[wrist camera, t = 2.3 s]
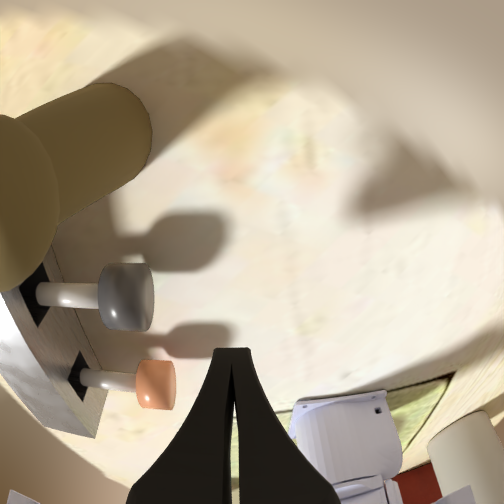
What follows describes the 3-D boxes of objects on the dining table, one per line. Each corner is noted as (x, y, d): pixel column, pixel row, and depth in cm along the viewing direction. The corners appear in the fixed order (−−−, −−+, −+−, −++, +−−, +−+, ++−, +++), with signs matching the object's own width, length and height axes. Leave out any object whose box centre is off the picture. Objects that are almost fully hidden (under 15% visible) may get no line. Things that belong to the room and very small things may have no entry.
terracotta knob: (169, 350, 20) (161, 392, 17) (177, 380, 22) (172, 419, 19) (82, 344, 20) (67, 380, 17) (97, 373, 22) (86, 408, 19)
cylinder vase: (418, 441, 37) (454, 564, 16) (483, 401, 34) (532, 521, 12) (432, 451, 42) (462, 551, 21) (486, 418, 39) (525, 516, 17)
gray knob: (147, 250, 16) (128, 290, 13) (157, 301, 18) (145, 345, 15) (45, 252, 16) (17, 287, 13) (62, 299, 18) (41, 335, 15)
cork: (84, 64, 12) (-90, 82, 2) (174, 116, 14) (56, 188, 4) (41, 159, 14) (-98, 257, 5) (120, 209, 16) (18, 359, 7)
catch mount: (38, 197, 15) (-20, 246, 10) (110, 384, 24) (95, 438, 19) (-14, 206, 15) (-67, 249, 10) (62, 377, 24) (44, 426, 19)
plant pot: (377, 477, 46) (393, 543, 32) (455, 448, 45) (476, 506, 31) (364, 495, 56) (375, 547, 41) (430, 473, 55) (444, 521, 41)
